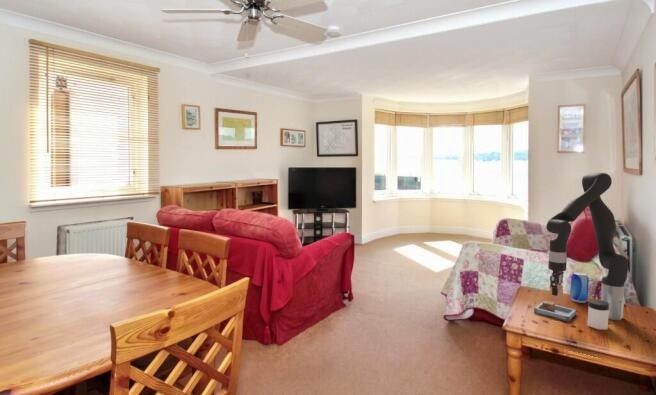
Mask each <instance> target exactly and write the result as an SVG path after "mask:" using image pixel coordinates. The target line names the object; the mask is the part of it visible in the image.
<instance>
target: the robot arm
mask: <svg viewBox="0 0 656 395" xmlns="http://www.w3.org/2000/svg"><path fill="white" fill-rule="evenodd" d="M612 184H613V182H612V177H611V175H610V174H608V173H606V172H593V173H592V172H589V173H586V174H584V176H582V179H581V185H582V189H583V193H582V194H580V195H579V196H577V197H575V198H574V199H572V200H570V202H568V203H567V204H566V205H565V207H564V208H563V209H562V210H561V211H560V212H557V214H555V215H554V216H552V217H551V218H550V219H549V220H547V223H546V230H547V231H548V232H549V233H551V234H555V235H557V237H556V238H555V237H554V238H551V239H549V240H550V241H549V252H548V263H547V264H548V267H547V268H548V269H549V270H551V271H552V272H551V274H550V275H551V276H549V283H550V285H549V287H550V286H551V287H552V295H551V296H553V295H555V297H558V296H557V294H558V285H562V286H563V284H564V274H565V272H566V271H567V256H568V255H567V243H568V241H569V237H570V235H571V232H572V225H571V222H575V221H576V220H577V219H578V217H580V215H581V214H582V213H583V212H584V211H585V210H586V209H587V207H589V211H590V216H591V221H592V226H593V229H594V234H595V239H596V243H597V250H598V260H599V264H600V265H601V267H602V268H604V269H606V270H608V272H607V275H604V276H602V277H601V288H600V298H599V300H602V301H605V302H607V303H609V314H608V320H612V321H619V322H620V321H622V319H623V318H624V306H625V305H624V304H625V299H624V295H625V293H624V292H625V283H626V282H627V279H628V274H629V260H628V258H627V257H626V256H624V255H622V254H619V253H617V252H616V250H615V248H614V247H615V246H614V236H616V235H615V234H616V230H617V224H616V219H615V215H614V213H613V212H612V210H611V209H610V208H609V207H608V206H607V204H606V203H605V202H604V201H603V200H602V197H601V196H602V195H603V194H604V193H606V192H607V191H608V190H609V189H610V187H612ZM554 284H555V285H554Z"/></svg>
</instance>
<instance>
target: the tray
mask: <svg viewBox="0 0 656 395" xmlns="http://www.w3.org/2000/svg"><path fill="white" fill-rule="evenodd" d="M543 302H544V301H541V302H540V303H539V304H538V305H536V306H535V307H534V308H533V313H534V314H538V315H542V316H545V317H549V318H553V319H556V320H559V321H564V322H568V323H569V322H570V321H572V319H573V318H574V317H575V316H576V315H577V309H575V308H570V307H567V306H566V307H565V306H563V305H562V306H561V305H559V304H555V311H554V312H551V311H547V310H543Z"/></svg>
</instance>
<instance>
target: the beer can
mask: <svg viewBox="0 0 656 395" xmlns="http://www.w3.org/2000/svg"><path fill="white" fill-rule="evenodd" d="M589 279H590V278H589V276H588V274H587V273H586V272H582V271H574V272H573V273H572V274H571V276H570V289H569V290H570V291H569V298H570V299H571V301H572V302H576V303H578V304H580V303H581V304H585V303H586V302H587V301H589V300H588V299H589V296H588V295H589V282H590V280H589Z"/></svg>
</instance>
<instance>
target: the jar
mask: <svg viewBox="0 0 656 395" xmlns="http://www.w3.org/2000/svg"><path fill="white" fill-rule="evenodd" d="M587 305H588V307H587V323H586V324H587V326H588V327H591V328H592V329H596V330H606V331H607V330H608V327H609V319H608V314H609V303H607V302H605V301H602V300H600V299H596V298H595V299H592V298H591V299H589V300H588V304H587Z"/></svg>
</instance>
